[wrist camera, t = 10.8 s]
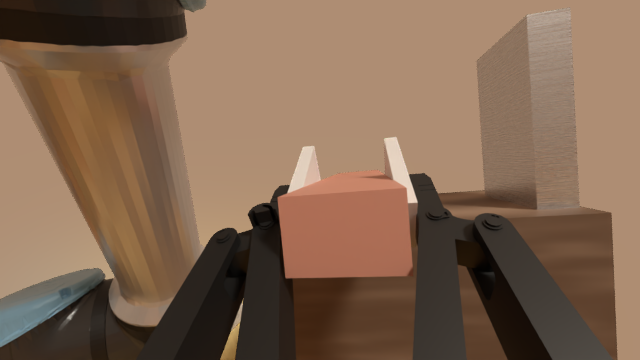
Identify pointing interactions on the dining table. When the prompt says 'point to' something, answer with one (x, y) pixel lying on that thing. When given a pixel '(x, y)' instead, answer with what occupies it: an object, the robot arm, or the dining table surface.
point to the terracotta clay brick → (346, 228)
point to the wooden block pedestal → (480, 338)
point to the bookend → (530, 114)
